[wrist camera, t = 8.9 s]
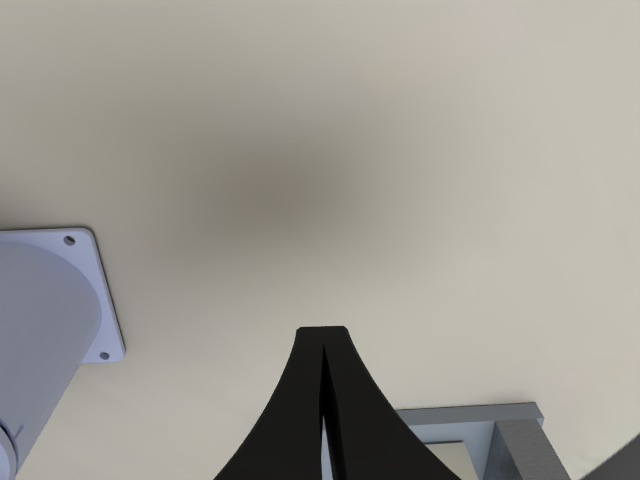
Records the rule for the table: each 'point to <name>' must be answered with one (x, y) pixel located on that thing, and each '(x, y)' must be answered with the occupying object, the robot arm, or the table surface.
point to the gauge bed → (454, 428)
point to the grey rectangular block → (522, 453)
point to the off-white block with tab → (455, 459)
